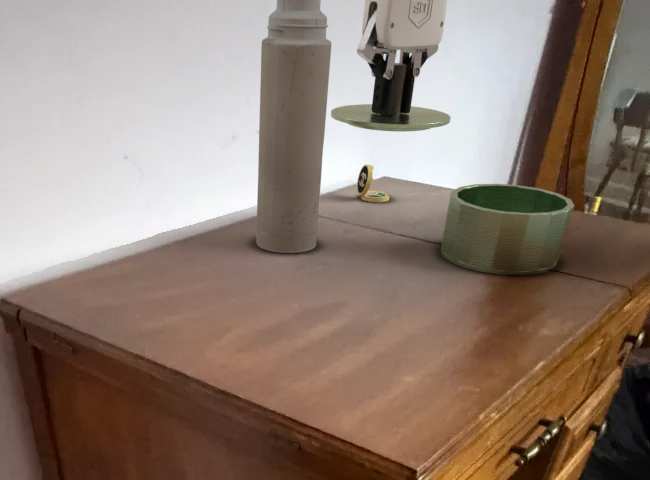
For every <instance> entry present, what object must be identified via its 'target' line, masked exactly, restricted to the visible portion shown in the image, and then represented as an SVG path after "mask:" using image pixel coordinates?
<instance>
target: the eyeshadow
mask: <svg viewBox="0 0 650 480" xmlns="http://www.w3.org/2000/svg"><path fill="white" fill-rule="evenodd" d="M374 169H375V166H374V165H372V164H364V165H362V167H361V169H360V171H359V174H358V177H357V184H356V190H357V194H358V195H360V198H361V200H363V201H365V202H370V203H386V202H388V201H390V195H388V193H386V192H384V191H383V190H382V191H381V190H370V188H371V184H372V181H373V171H374Z"/></svg>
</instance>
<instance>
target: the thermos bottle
mask: <svg viewBox="0 0 650 480" xmlns="http://www.w3.org/2000/svg"><path fill="white" fill-rule="evenodd" d="M321 1H322V0H276V7H275V10H274V11H272V12H271V13H270V14H269V16H268V21H267V22H268V24H267V25H266V29H267V37H265V38H263V39H262V40H261V47H260V48H261V52H260V54H261V55H260V56H261V57H260V58H261V59H260V84H259V85H260V87H259V126H258V127H259V129H258V165H257V166H258V167H257V174H258V175H257V199H256V200H257V201H256V202H257V204H256V234H255V235H256V237H255V238H256V239H255V243H256V245H257V247H259V248H260V249H263V250H265V251H267V252H268V251H269V252H274V253H280V254H297V253H305V252H308V251H311V250H313V249H315V247H316V246H317V238H318V226H319V209H320V197H321V186H322V185H321V183H322V172H323V170H322V169H323V152H324V144H325V143H324V142H325V132H326V120H327V108H328V107H327V106H328V94H329V81H330V69H331V55H332V41H331V40H330V39H328V38H327V28H328V27H329V24H328V17H327V16H326V15H325V13H323V12H322V10H321Z"/></svg>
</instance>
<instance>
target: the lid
mask: <svg viewBox="0 0 650 480" xmlns="http://www.w3.org/2000/svg"><path fill="white" fill-rule="evenodd" d="M406 68H407V65H406V64H402V63H399V62H395V64H394V70H393V75H392V77H391V79H395V88H394V96H393V104H392V111H391V114H390V115H381V114H377V113H373V112H372V103H368V104H367V103H365V104H364V103H363V104H349V105H342V106H338V107H335V108H332V109H331V111H330V117H331V118H332V119H333V120H335V121H338V122H341V123H344V124H347V125H349V126H351V127H355V128H360V129H365V130H371V131H381V132H418V131H426V130H430V129H434V128H439V127H444V126H446V125H449V124H450V123H451V119H452V117H451V115H449V114H448V113H446V112H443V111H441V110H437V109H432V108H426V107H421V106H412V105H411V109H410V112H409V113H406V114H405V113H400V112H401V105H402V98H403V90H404V83H405V76H406Z"/></svg>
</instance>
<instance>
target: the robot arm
mask: <svg viewBox="0 0 650 480" xmlns="http://www.w3.org/2000/svg"><path fill="white" fill-rule="evenodd" d="M447 5H448V0H365V1H364V9H363V16H362V30H361V39H360V41H359V44H358V46H357V49H356V53H357V55H358V56H359V57H360V58H361V59H363V60H364V61H365V62H367V64H368V66H369V68H370V70H371V71H370V73H371V76H372V77H374V85H373V93H372V101H371V104H372V112H373V113H377V114H381V115H390V114H391V111H392V104H393V96H394V88H395V79H391V77H392V75H393V70H394V64H395V63H396V58H397V52H398V51H400V52H399V61H398V63H402V64H406V65H407V68H406V76H405V83H404V90H403V98H402V105H401V112H400V113H405V114H406V113H409V112H410V109H411V106H412V101H413V93H414V88H415V81H416V78H418V77H419V76H420V73H421V68H422V67H423V66H424V64H425V63H426V62H427V60H428V59H430V58H431V57H432V56H433V55H434V54H436V53H437V52H438V50H439V45H440V43H441V42H442V39H443V34H444V29H445V22H446V14H447ZM384 56H385V58H384Z"/></svg>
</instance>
